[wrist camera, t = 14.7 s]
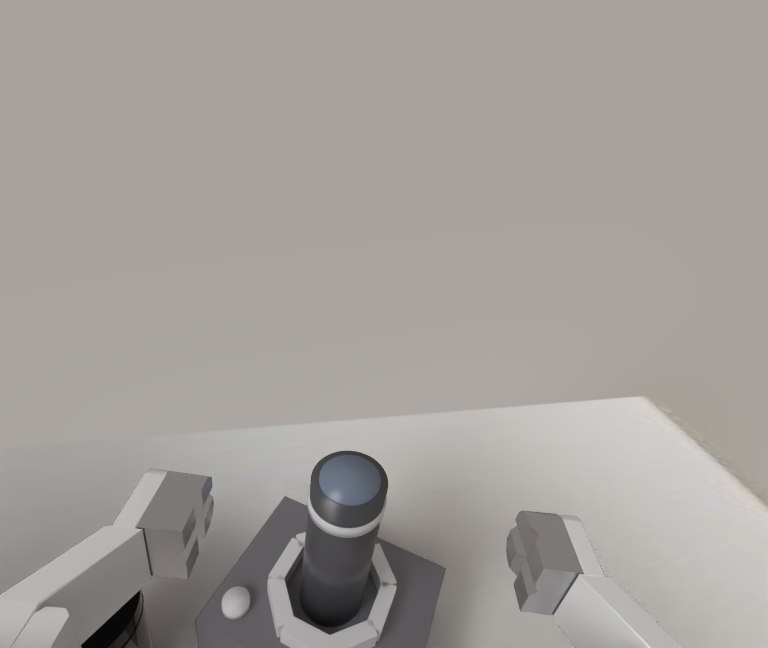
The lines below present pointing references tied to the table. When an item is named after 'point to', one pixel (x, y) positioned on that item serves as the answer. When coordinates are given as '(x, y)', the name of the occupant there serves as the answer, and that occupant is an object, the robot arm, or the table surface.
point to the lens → (341, 535)
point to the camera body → (282, 596)
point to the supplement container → (124, 628)
